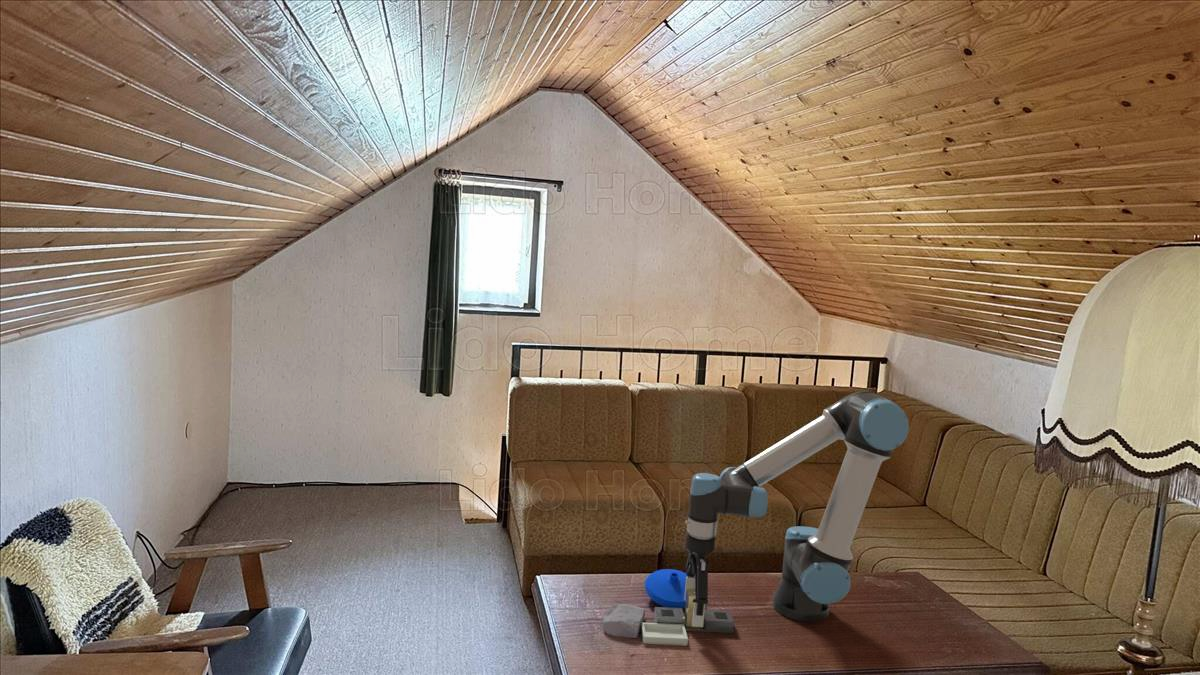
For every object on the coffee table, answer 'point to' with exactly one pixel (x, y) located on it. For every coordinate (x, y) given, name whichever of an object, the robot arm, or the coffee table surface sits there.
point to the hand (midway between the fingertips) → (693, 613)
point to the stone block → (623, 620)
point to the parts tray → (664, 634)
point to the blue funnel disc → (667, 587)
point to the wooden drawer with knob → (689, 609)
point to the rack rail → (712, 622)
